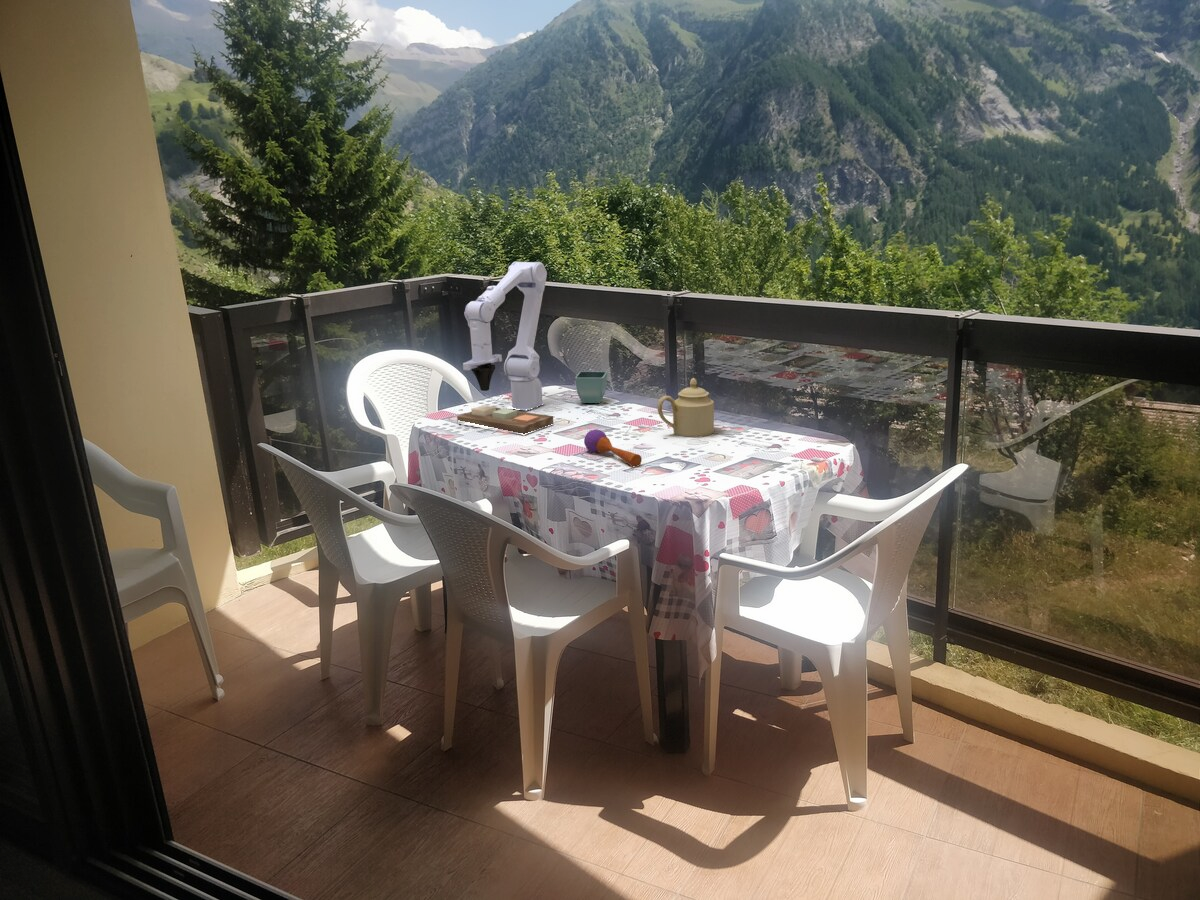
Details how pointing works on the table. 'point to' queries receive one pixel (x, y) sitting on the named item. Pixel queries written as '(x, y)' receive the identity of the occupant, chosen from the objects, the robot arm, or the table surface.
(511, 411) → the sage button
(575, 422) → the table surface
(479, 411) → the cream button
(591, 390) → the flower pot
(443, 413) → the table surface
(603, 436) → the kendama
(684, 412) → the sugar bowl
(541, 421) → the button panel
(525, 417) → the terracotta button
